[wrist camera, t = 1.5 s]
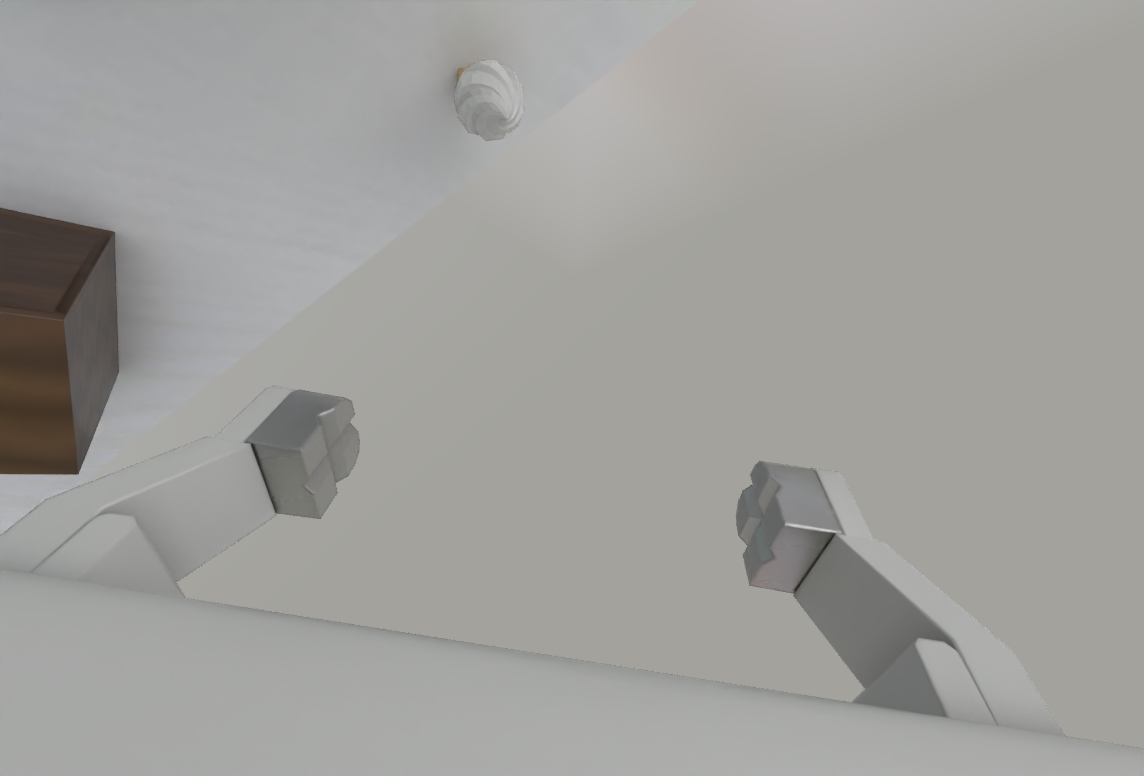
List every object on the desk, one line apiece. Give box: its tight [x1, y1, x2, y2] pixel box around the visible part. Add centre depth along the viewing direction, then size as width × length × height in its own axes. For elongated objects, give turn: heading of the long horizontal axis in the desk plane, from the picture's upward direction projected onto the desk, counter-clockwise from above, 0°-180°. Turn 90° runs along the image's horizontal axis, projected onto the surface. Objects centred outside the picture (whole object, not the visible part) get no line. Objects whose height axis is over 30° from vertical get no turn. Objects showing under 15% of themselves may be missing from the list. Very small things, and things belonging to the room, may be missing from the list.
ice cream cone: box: [454, 60, 524, 141], centre depth 40 cm, size 6×6×15 cm
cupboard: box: [0, 208, 119, 474], centre depth 40 cm, size 16×10×14 cm, turn 152°
